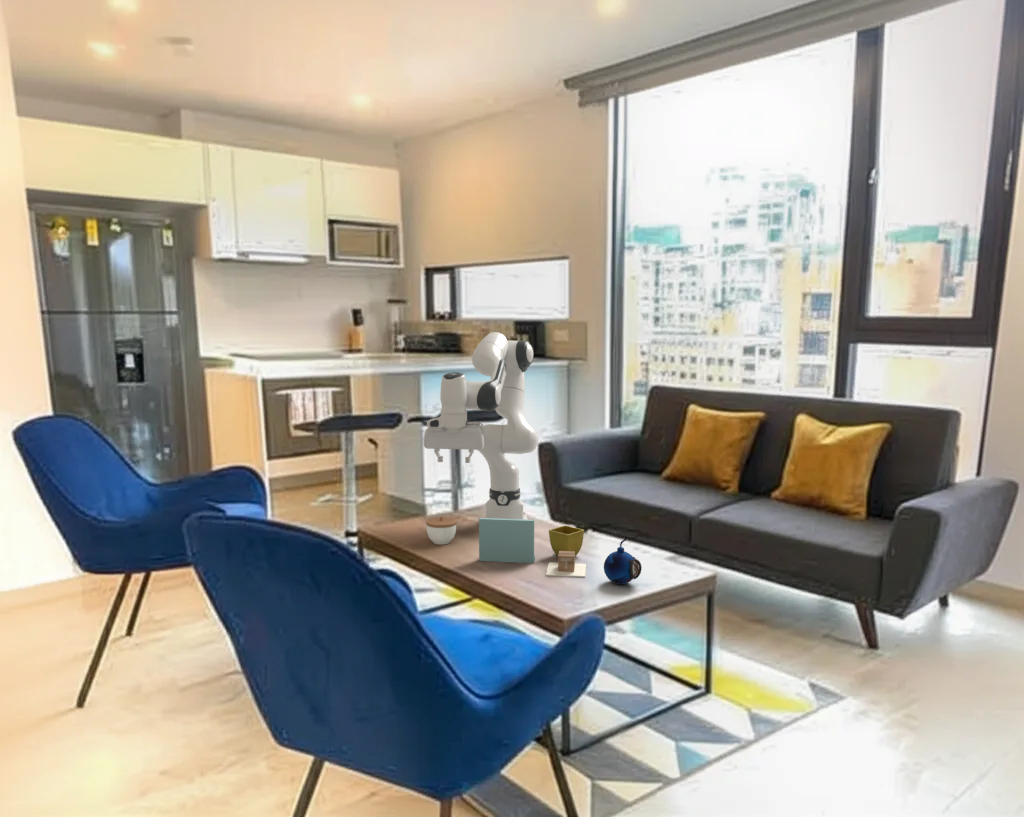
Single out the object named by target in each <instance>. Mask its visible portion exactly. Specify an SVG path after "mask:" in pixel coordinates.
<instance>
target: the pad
mask: <svg viewBox="0 0 1024 817" xmlns="http://www.w3.org/2000/svg"><path fill="white" fill-rule="evenodd" d="M586 571H587V563H576V562H575V569H574V572H563V571H558V562H550V561H549V562H548V566H547V570H546V573H545V576H547V577H567V578H586V575H587V574H586V573H587V572H586Z"/></svg>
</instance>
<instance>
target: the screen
mask: <svg viewBox="0 0 1024 817" xmlns="http://www.w3.org/2000/svg"><path fill="white" fill-rule="evenodd" d="M478 561H480V562H498V563H499V562H501V563H520V564H521V563H522V564H523V563H525V564H534V563H535V561H536V555H535V519H528V520H526V519H498V518H485V517H479V519H478Z"/></svg>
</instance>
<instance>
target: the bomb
mask: <svg viewBox="0 0 1024 817" xmlns="http://www.w3.org/2000/svg"><path fill="white" fill-rule="evenodd" d="M627 537H628V535H625V536H624V539H623V540H621V541H620V543H619V547H617V549H616V550H615V551H613V552H611V553H610V554H609V555H607V556H606V558H605V559H604V563H603V571H604V574H605V576H606V577H607V579H608V581H610V582H611V583H614V584H616V585H626V584H628V583H630V582H631V581H633V580H636V579H637V578H638V577H640V575H641V573H642V564H641V562H640V560H639V559H637V558H636V557H634V556H633V555H632V554H630V553H629V552H627V551H625V548H624V547H623V546H622V545H623V543H624V542H626V540H627V539H628V538H627Z"/></svg>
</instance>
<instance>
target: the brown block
mask: <svg viewBox="0 0 1024 817" xmlns="http://www.w3.org/2000/svg"><path fill="white" fill-rule="evenodd" d="M557 563H558V571H563V572H574V569H575V563H576V556H575V552H572V551H559V554H558V556H557Z"/></svg>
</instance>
